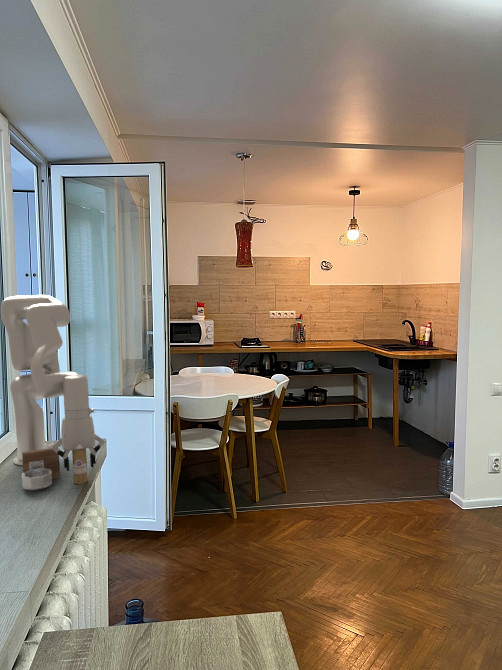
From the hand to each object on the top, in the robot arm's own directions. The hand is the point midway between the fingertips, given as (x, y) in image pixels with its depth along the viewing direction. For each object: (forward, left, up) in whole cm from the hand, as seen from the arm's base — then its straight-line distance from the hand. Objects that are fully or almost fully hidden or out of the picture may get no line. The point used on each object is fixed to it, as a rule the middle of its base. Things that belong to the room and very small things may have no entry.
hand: (80, 467), depth 170 cm
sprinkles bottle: (0, 0, -5) cm, 5 cm away
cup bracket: (+9, -10, -4) cm, 14 cm away
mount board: (+2, -15, -5) cm, 16 cm away
